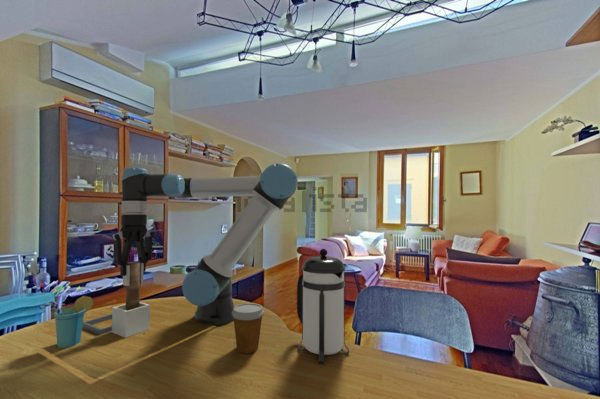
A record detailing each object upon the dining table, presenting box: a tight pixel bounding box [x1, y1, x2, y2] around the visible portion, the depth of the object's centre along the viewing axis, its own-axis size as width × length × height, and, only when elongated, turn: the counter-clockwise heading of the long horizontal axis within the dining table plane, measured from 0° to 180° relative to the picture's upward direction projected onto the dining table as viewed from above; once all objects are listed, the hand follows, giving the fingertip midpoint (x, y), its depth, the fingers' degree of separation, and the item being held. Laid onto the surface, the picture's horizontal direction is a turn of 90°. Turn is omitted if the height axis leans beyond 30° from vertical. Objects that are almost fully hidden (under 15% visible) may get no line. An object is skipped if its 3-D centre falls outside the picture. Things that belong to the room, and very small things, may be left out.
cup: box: [38, 295, 95, 349], centre depth 86 cm, size 14×8×15 cm, turn 161°
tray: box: [82, 313, 112, 336], centre depth 101 cm, size 12×12×2 cm
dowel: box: [125, 261, 141, 311], centre depth 97 cm, size 4×4×16 cm
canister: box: [111, 301, 151, 338], centre depth 96 cm, size 8×8×9 cm
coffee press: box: [296, 248, 350, 365], centre depth 86 cm, size 17×16×30 cm
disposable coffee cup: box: [232, 302, 265, 354], centre depth 87 cm, size 10×10×12 cm
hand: (133, 283), depth 97 cm, fingers closed on dowel, 4 cm apart
